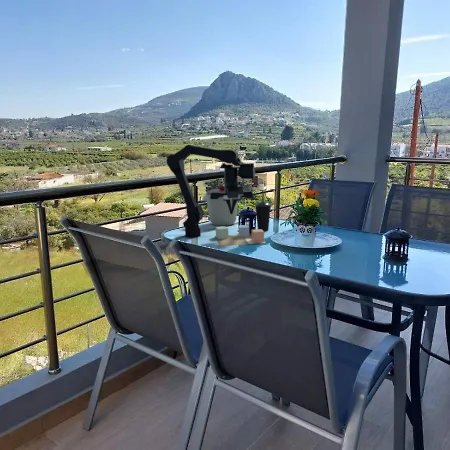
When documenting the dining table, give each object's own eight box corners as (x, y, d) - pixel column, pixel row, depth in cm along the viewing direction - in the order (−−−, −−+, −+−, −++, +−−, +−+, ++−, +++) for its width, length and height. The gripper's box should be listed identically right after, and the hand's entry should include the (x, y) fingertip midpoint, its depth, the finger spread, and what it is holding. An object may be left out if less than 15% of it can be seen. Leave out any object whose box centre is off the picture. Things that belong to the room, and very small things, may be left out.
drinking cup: (272, 234, 190) (271, 191, 185) (255, 234, 190) (255, 192, 186) (270, 230, 197) (270, 189, 193) (254, 230, 197) (254, 190, 193)
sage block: (218, 239, 179) (218, 229, 178) (215, 236, 183) (215, 227, 182) (228, 238, 180) (228, 228, 179) (225, 235, 185) (225, 226, 184)
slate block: (239, 237, 181) (239, 227, 180) (238, 235, 185) (238, 225, 184) (249, 237, 181) (249, 227, 180) (248, 234, 185) (248, 225, 184)
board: (219, 248, 168) (219, 246, 168) (214, 238, 185) (214, 236, 184) (266, 245, 171) (266, 243, 171) (257, 236, 187) (257, 233, 187)
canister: (243, 226, 207) (242, 185, 202) (207, 228, 205) (206, 187, 200) (237, 219, 225) (236, 181, 220) (204, 221, 222) (203, 183, 218)
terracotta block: (253, 242, 172) (253, 232, 171) (251, 239, 176) (251, 229, 175) (264, 241, 173) (264, 231, 172) (261, 239, 177) (261, 229, 176)
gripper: (210, 181, 168) (211, 218, 172) (255, 180, 170) (255, 216, 173) (209, 178, 179) (210, 213, 182) (251, 177, 181) (251, 212, 184)
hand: (231, 213), depth 180 cm, fingers closed
